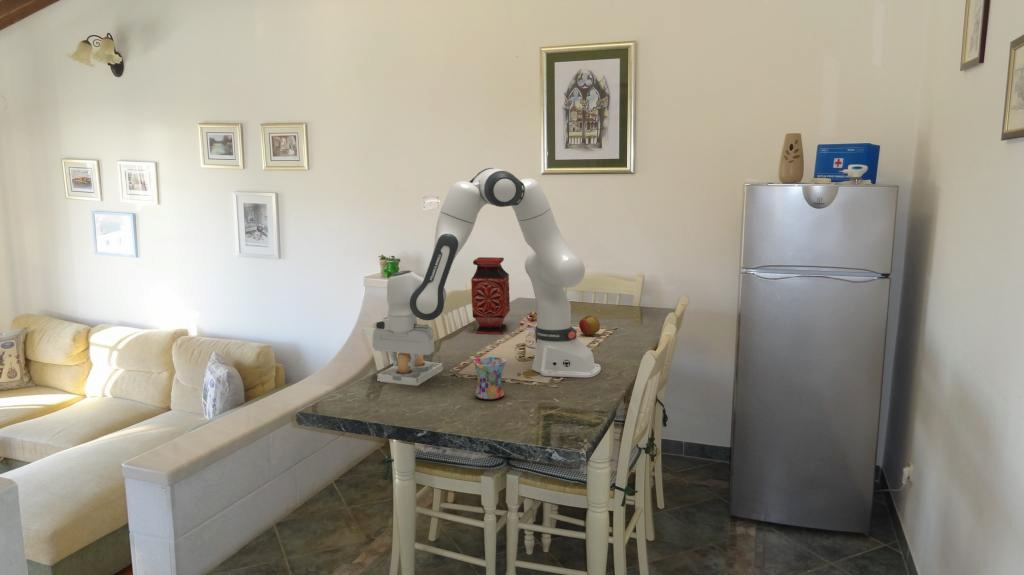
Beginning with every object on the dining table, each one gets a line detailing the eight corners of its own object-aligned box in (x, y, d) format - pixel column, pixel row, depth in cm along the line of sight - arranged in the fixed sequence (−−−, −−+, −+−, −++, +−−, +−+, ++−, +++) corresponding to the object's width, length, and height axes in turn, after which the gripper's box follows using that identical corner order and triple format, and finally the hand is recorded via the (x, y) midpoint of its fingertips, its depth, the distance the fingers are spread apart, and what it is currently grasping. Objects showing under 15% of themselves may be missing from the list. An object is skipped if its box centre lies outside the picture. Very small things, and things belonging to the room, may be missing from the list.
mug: (502, 402, 190) (501, 366, 188) (470, 400, 191) (469, 364, 190) (510, 389, 201) (510, 355, 200) (480, 387, 203) (479, 353, 201)
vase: (478, 327, 286) (477, 256, 281) (510, 327, 284) (509, 256, 279) (471, 334, 272) (470, 260, 267) (505, 335, 270) (504, 261, 266)
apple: (585, 332, 275) (585, 313, 273) (602, 335, 270) (603, 315, 269) (575, 336, 268) (575, 316, 267) (593, 338, 264) (593, 318, 263)
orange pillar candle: (406, 374, 209) (406, 356, 208) (396, 373, 211) (395, 355, 210) (412, 371, 213) (412, 353, 212) (402, 370, 214) (401, 352, 213)
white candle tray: (443, 370, 222) (442, 349, 221) (417, 385, 206) (416, 363, 205) (405, 366, 227) (404, 346, 226) (377, 381, 210) (376, 359, 209)
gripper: (437, 323, 209) (438, 366, 211) (379, 319, 216) (381, 361, 218) (427, 327, 203) (429, 371, 205) (368, 323, 210) (370, 366, 212)
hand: (404, 366), depth 211 cm, fingers closed on orange pillar candle, 4 cm apart
